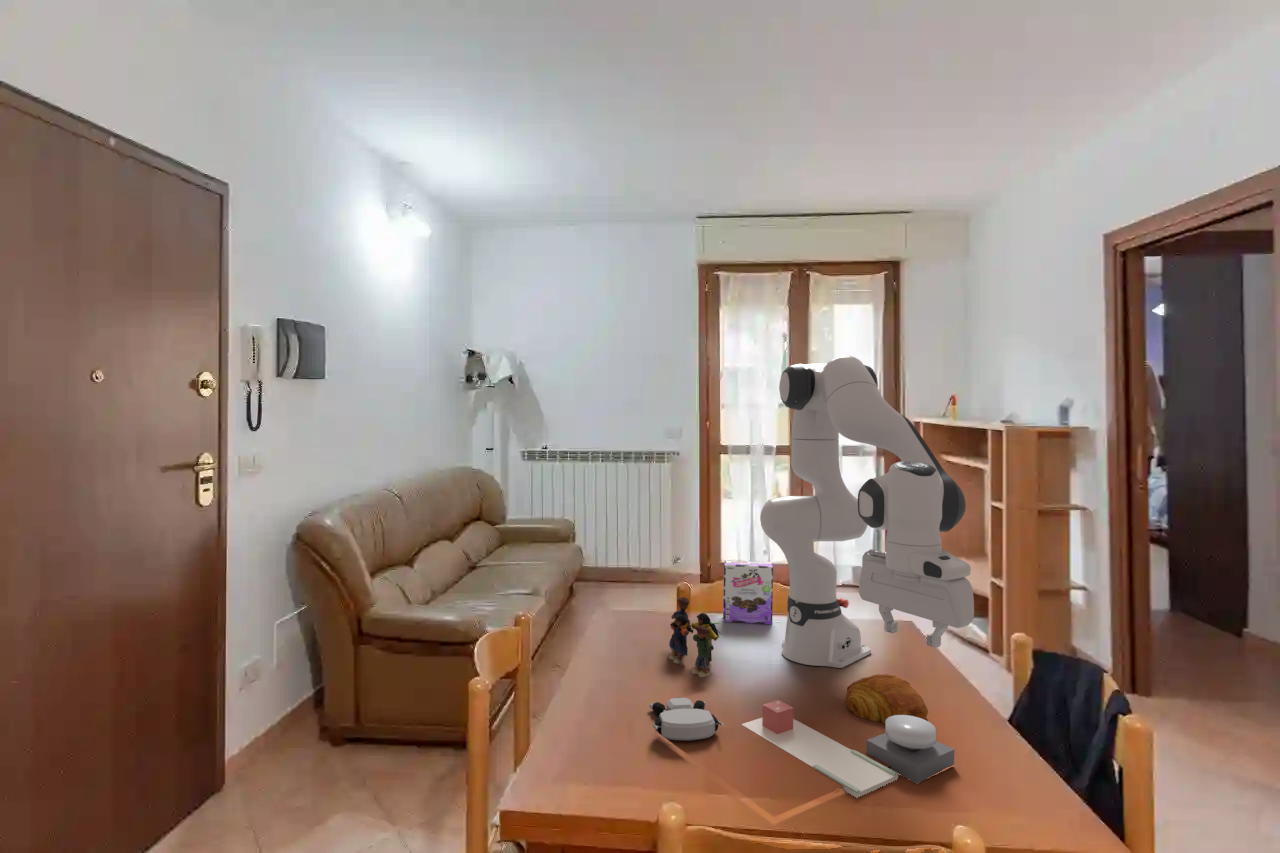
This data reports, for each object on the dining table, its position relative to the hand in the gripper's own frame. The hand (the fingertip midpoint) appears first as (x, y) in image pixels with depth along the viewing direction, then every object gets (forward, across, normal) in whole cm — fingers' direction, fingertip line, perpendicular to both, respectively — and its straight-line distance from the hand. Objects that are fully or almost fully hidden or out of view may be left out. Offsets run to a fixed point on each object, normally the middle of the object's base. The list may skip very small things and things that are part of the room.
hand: (911, 638), depth 116 cm
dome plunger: (+19, 0, 0) cm, 19 cm away
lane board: (+21, -11, -13) cm, 27 cm away
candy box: (+21, -73, +28) cm, 81 cm away
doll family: (+22, -57, -4) cm, 61 cm away
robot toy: (+22, -30, -26) cm, 45 cm away
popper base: (+21, 0, 0) cm, 21 cm away
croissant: (+22, -14, +12) cm, 29 cm away
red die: (+20, -20, -12) cm, 31 cm away
